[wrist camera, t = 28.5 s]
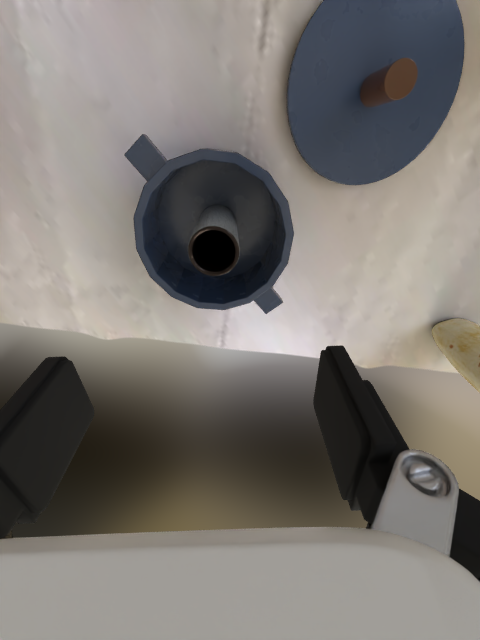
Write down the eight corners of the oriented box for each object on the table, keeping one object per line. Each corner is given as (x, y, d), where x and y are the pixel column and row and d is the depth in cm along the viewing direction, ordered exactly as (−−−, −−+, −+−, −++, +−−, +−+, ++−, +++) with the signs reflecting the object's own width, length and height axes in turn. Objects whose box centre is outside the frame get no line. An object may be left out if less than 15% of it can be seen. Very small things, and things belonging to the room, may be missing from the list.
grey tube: (208, 249, 35) (201, 283, 26) (192, 213, 32) (178, 237, 24) (242, 235, 34) (246, 266, 25) (228, 198, 32) (228, 217, 23)
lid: (335, 214, 34) (355, 227, 28) (252, 75, 27) (258, 57, 21) (476, 108, 28) (532, 99, 23) (419, -98, 22) (481, -177, 16)
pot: (225, 315, 40) (224, 346, 34) (106, 195, 32) (75, 207, 25) (315, 249, 36) (334, 271, 29) (205, 86, 27) (198, 67, 20)
